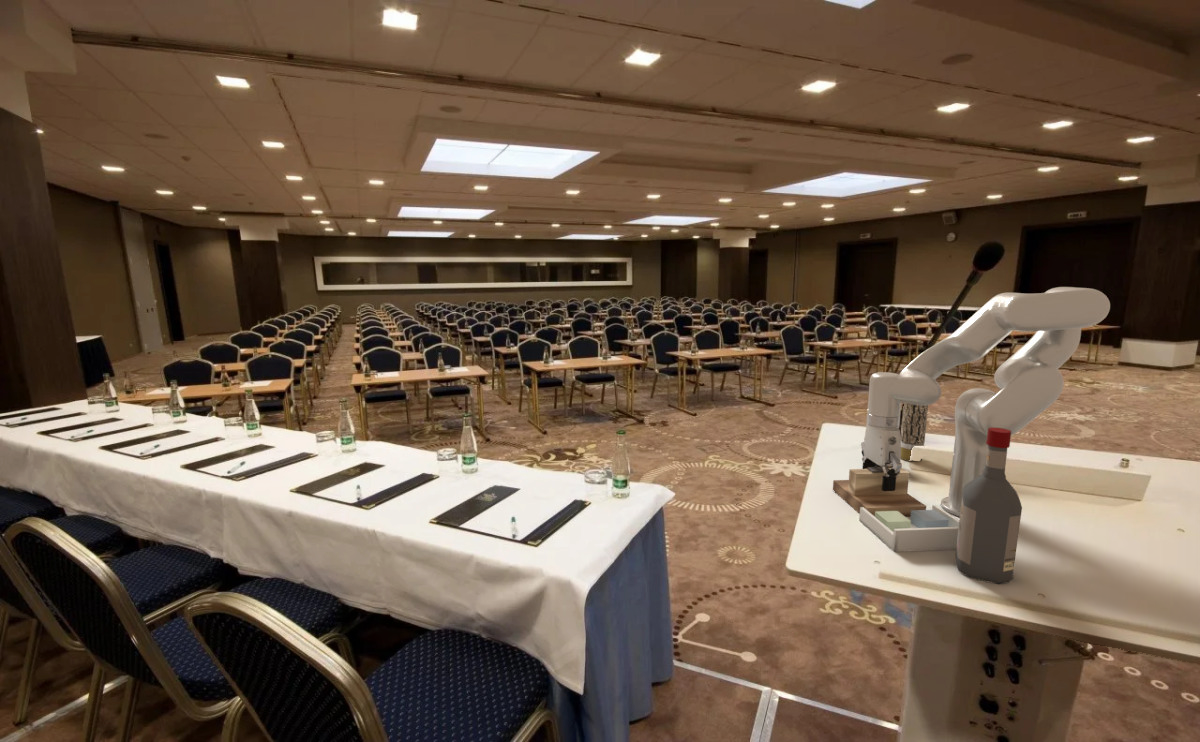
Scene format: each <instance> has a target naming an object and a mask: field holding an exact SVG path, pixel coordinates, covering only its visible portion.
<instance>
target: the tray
mask: <svg viewBox="0 0 1200 742" xmlns="http://www.w3.org/2000/svg"><path fill="white" fill-rule="evenodd" d="M931 510H935V511H936V512H938V513H939V514H940V515H942V516H943V517H945V518H946V519H948V520H949V522H948V527H935V528H917V527H916V526H915V525H913V524H912V523H911V528H904V529H894V531H893V532H892V531H891V530H890V529H889V528H888V527H886V526H885V525H884V524H883V523H882V522H880V521H879V520H878V519H877V518H876V517H875V516H873V515H872V514H871V513H870V512H869V511H867V510H866V509H865V508H864V507H860V514H859V522H860V523H861V524H862V525H863V526H865V528H867V529H868V530H869V531H870V532H872V534H874V535H875V536H876V537H877V538H878V539H879V540H880V541H882V542H883V544H885V545H886V546H887V547H888V548H889V549H890V550H891V551H892V552H894V553H897V552H898V553H899V552H924V551H950V550H951V551H952V550H953V551H954V550H955V551H956V547H957V538H958V529H959V520H960V519H958V518H956V517H955V516H953V514H951V513H949V512H948V511H946V510H945V509H943V508H941V507H939V506H938V505H936V504H932V507H931ZM906 518H908V519H909V520H910V518H911V517H906Z"/></svg>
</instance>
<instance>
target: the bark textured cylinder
mask: <svg viewBox="0 0 1200 742" xmlns="http://www.w3.org/2000/svg"><path fill="white" fill-rule="evenodd" d="M903 404H904V406H903V405H902V406H903V408H902V416H901V417H902V418H901V426H900V427H901V428H900V437H901V459H902V460H904V461H908V462H910V461H909V460H910V456H911V450H912V448H913V447H914V446H924V447H925V441H926V432H927V431H926V430H927V421H928V420H927V419H928V410H929V405H925V406H921V405H914V404H908V403H903ZM901 459H900V460H901Z"/></svg>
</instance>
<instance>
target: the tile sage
mask: <svg viewBox="0 0 1200 742" xmlns="http://www.w3.org/2000/svg"><path fill="white" fill-rule="evenodd" d="M875 517H876V518H877V519H878V520H879V521H880V522H882V523H883V524H884V525H885V526H886V527H888V528H889V529H890V530H891V531H892V532H893V531H894V529H904V528H911V521H910V520H909V519H908V518H906V517H905V516H904V515H902V514H901V513H900V512H898V511H877V512H875Z"/></svg>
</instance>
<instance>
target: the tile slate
mask: <svg viewBox="0 0 1200 742" xmlns="http://www.w3.org/2000/svg"><path fill="white" fill-rule="evenodd" d="M910 521H911V523H912V524H913V525H915V526H916V527H917V528H935V527H948V522H949V520H948V519H946V518H945V517H943V516H942V515H940V514H939V513H938V512H936V511H935V510H932V509H926V510H911V518H910Z"/></svg>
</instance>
